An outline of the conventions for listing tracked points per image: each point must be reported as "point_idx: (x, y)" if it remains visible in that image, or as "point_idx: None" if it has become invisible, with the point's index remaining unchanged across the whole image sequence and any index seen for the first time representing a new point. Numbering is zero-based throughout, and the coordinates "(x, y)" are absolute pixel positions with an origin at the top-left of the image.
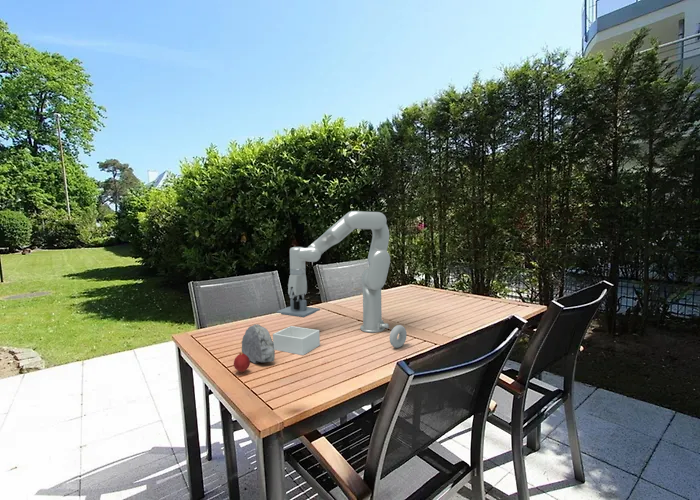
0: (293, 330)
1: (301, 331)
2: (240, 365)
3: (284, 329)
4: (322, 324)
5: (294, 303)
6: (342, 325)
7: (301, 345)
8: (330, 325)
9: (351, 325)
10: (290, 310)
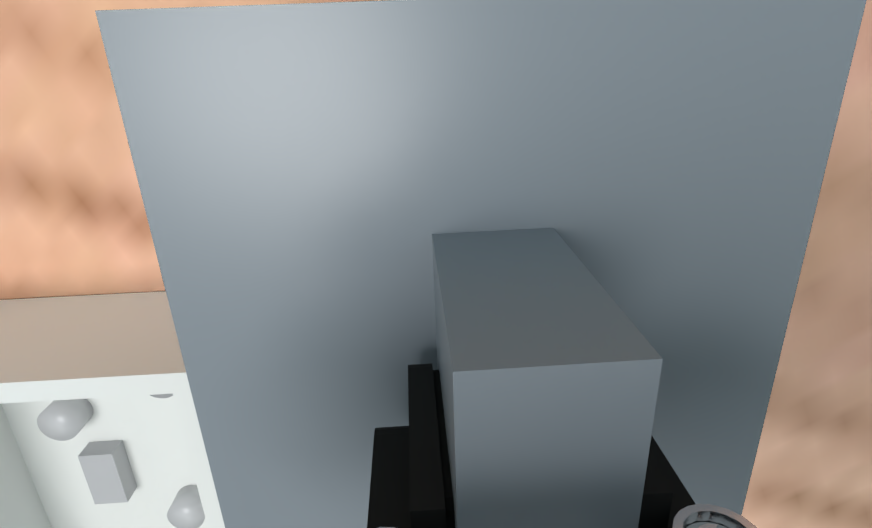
0: None
1: None
2: None
3: (24, 399)
4: (838, 250)
5: (372, 513)
6: (841, 432)
7: None
8: (819, 341)
9: (855, 491)
10: (357, 290)
